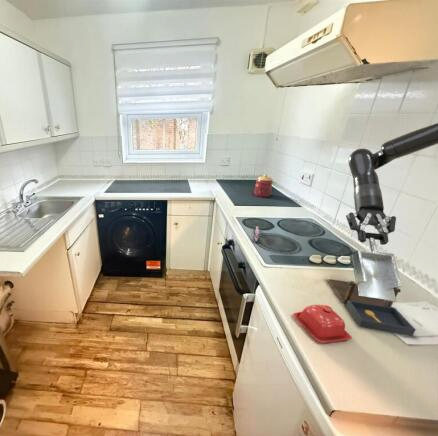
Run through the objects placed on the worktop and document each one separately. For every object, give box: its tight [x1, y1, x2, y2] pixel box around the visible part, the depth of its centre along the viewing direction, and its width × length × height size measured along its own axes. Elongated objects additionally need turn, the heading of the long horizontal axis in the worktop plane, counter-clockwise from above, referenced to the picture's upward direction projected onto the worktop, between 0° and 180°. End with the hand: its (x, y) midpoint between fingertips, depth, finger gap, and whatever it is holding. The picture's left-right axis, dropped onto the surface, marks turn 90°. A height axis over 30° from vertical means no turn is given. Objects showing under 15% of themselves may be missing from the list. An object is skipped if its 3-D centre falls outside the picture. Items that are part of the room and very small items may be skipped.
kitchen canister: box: [253, 174, 274, 198], centre depth 197 cm, size 13×13×18 cm
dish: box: [350, 231, 403, 303], centre depth 80 cm, size 22×10×5 cm
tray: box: [345, 300, 416, 337], centre depth 76 cm, size 13×9×2 cm
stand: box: [327, 278, 402, 307], centre depth 85 cm, size 13×14×9 cm
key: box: [365, 310, 382, 323], centre depth 76 cm, size 6×3×1 cm, turn 178°
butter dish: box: [292, 304, 353, 344], centre depth 71 cm, size 12×12×8 cm
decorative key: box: [253, 225, 260, 243], centre depth 130 cm, size 7×1×20 cm
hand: (373, 242), depth 81 cm, fingers closed on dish, 5 cm apart
